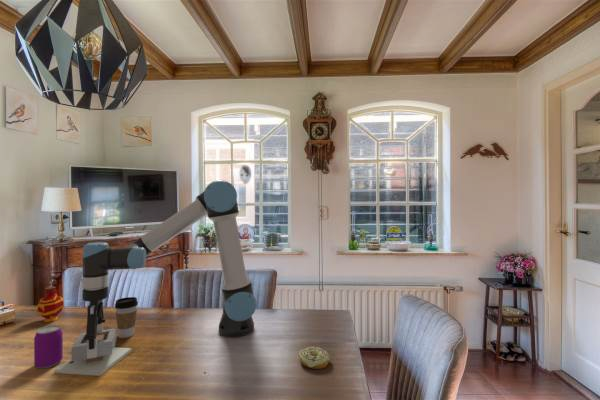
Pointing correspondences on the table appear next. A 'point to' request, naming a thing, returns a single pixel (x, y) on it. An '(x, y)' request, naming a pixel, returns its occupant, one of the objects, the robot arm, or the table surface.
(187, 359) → the table surface
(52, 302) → the potion bottle
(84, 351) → the square frame
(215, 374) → the table surface
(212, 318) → the table surface
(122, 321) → the coffee cup
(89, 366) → the post board
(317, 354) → the decorated donut
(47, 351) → the beverage can
